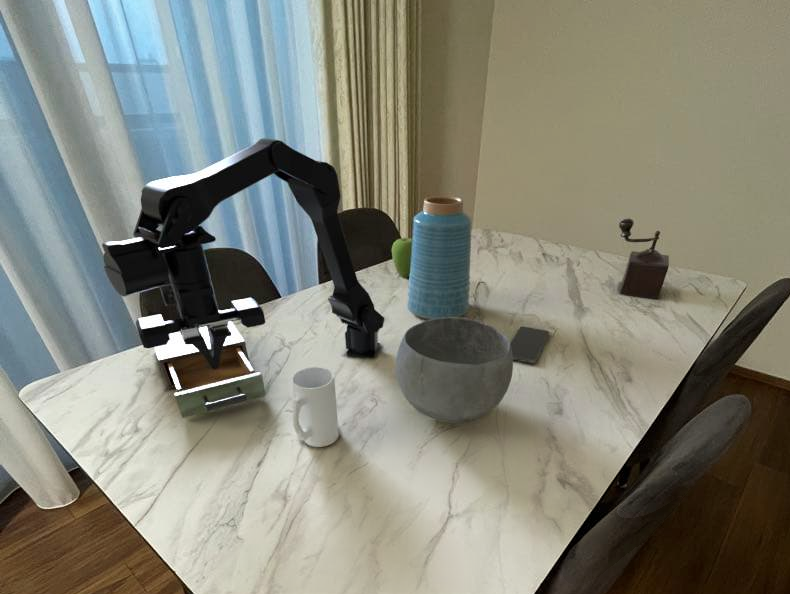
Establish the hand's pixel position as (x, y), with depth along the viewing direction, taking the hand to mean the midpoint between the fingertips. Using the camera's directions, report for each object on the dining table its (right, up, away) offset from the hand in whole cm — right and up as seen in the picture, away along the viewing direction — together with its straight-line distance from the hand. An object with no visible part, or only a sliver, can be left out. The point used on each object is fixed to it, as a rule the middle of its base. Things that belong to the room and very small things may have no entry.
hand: (215, 368), depth 81 cm
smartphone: (+61, +10, +29) cm, 68 cm away
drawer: (-4, -3, +11) cm, 12 cm away
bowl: (+41, -7, +9) cm, 43 cm away
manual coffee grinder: (+99, +33, +58) cm, 119 cm away
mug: (+17, -13, +1) cm, 21 cm away
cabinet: (-12, +5, +22) cm, 26 cm away
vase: (+41, +23, +45) cm, 65 cm away
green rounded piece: (+33, +39, +65) cm, 83 cm away
